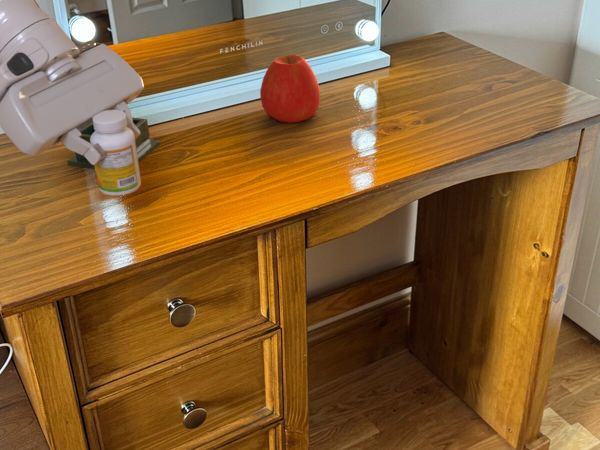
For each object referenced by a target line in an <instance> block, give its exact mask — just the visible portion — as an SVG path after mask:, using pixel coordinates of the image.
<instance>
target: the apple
mask: <svg viewBox="0 0 600 450" xmlns="http://www.w3.org/2000/svg"><path fill="white" fill-rule="evenodd" d="M319 85H320V84H319V81H318V78H317V76H316V74H315V72H314V71H313V69H312V66H310V64H309V62H308V61H307V59H306V58H303V57H301V56H299V55H296V54H290V55H285V56H280V57H277V58H276V59H274V60H273V61H272V62H271V63H270V65H269V66H268V67H267V69H266V71H265V73H264V76H263V78H262V81H261V86H260V90H259V94H260V95H259V96H260V97H259V98H260V102H261V106H262V108H263V110H264V112H265V113H266V114H267V115H268V116H270V117H271V118H273V119H274V120H276V121H278V122H281V123H287V124H291V123H298V122H299V123H300V122H303V121H306V120H308V119H310V118H312V117H313V116H314V115H315V114H316V112H317V110H318V109H319V107H320V104H321V90H320V86H319Z"/></svg>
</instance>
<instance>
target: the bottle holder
mask: <svg viewBox="0 0 600 450" xmlns="http://www.w3.org/2000/svg"><path fill="white" fill-rule="evenodd" d="M132 119H133V123H134V124H135V125H136V127H137V128H138V129H139V130H140V135H139V136H138V137H137V138H136V139H135V142H136V149H137V156H138V163H139V164H140V163H141V162H142V161H143V160H144V159H146V157H148V156H149V155H150V154H151V153H152V152H153V151H155V150H156V148H158V147H159V146H160V140H159V139H151V137H150V130H149V123H148V119H147V118H140V117H132ZM79 132H80V133H81V134H82V135H81V136H80V138H82V139H83V140H85V141H87V142H89V143H90V137H91V135H92V134H93V133H94V132H95V130H94V125H93V123H92V124H91V125H89V126H87V127H85V128H84V129H82V130H80V131H79ZM90 144H91V143H90ZM74 153H75V154H74V155H73V156H71V157H70V158H69V159H67V160H66V162H67V165H68V166H71V167H79V168H85V169H86V168H88V169H94V170H95V167H94V165H92V164H91V163H90V162H89V161H88V160H87V159H86V157H85V156H84V155H81V154H78V153H76V152H74Z"/></svg>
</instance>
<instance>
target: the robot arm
mask: <svg viewBox="0 0 600 450" xmlns="http://www.w3.org/2000/svg"><path fill="white" fill-rule="evenodd" d="M144 85H145V84H144V81H143V78H142V77H141V75H140V74H139V73H138V72H137V71H136V70H135V69H134V68H133V67H132V66H131V65H130V64H129V63H128V62H127V61H126V60H125V59H123V57H121V56H120V55H119V54H118V53H117V52H115V51H114V50H113V49H112V48H109V46H108V45H106V44H105V43H100V42H97V41H94V40H88V41H86V42H84V43H83V44H81V45H76V44H75V42H74V41H73V40H72V38H71V37H70V36H69V35H68V34H67V33H66V32H65V31H64V30H63V28H62V27H61V26H60V25H59V24H58V22H57V21H56V20H55V19H54V18H53V17H52V16H51V15H50V14H48V13H46V11H44V10H42V9H41V7H40V5H39V4H38V3H37V1H36V0H0V128H1V130H2V131H3V132H4V133H5V135H6V136H7V137H8V139H9V140H10V141H11V142H12V143H13V144H14V146H15V147H16V148H17V149H18V150H19V151H20V152H21V153H22V154H26V155H28V156H31V157H36V156H37V155H40V154H41V153H43V152H45V151H46V150H48V149H50V148H52V147H54V146H55V145H57V144H59V143H62V144H63V146H64V147H65V148H66V149H67V150H70V151H72V152H74V153H75V152H76V153H78V154H81V155H84V156H85V157H86V159H87V160H88V161H89V162H90V163H91V164H92V165H95V164H97V163H98V162H100V161H101V160H103V158H104V157H105V156H106V152H105V151H104V150H103V149H102V148H101V146H100V145H99V144H98V143H97V144H95V145H92V144H90V143H89V142H87V141H85V140H83V139H82V138H80V136H81V135H82V134H81V133H80V132H79V131H80V130H82V129H84V128H85V127H87V126H89V125H91V124H92V123H93V116H95V115H97V114H99V113H100V112H102V111H106V110H119V111H123V112H124V113H125V114H126V119H127V127H128V128H129V129H131V130H132V131H133V133H134V136H135V139H136V138H137V137H138V136H139V135H140V130H139V129H138V128H137V127H136V125H135V124H134V123H133V119H132V118H133V116H132V111H131V108H130V106H129V105H128V104H130V103H131V102H133V101H134V100H135V99H136V98H137V97H138V96H139V95H140V94H141V93H142V91H143V90H144V88H145V86H144Z"/></svg>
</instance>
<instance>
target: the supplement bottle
mask: <svg viewBox="0 0 600 450" xmlns="http://www.w3.org/2000/svg"><path fill="white" fill-rule="evenodd" d="M93 125H94V130H95V132H94V133H93V134H92V135H91V137H90V143H91V144H92V145H95V144H97V143H98V144H99V145H100V146H101V148H102V149H103V150H104V151H105V152H106V156H105V157H104V158H103V160H101V161H100V162H98V163H97V164H95V165H94V167H95V169H94V172H95V177H96V184H97V187H98V190H99V191H100V192H101V193H102V194H104V195H106V196H112V197H114V196H116V197H117V196H124V195H129V194H131V193H134V192H136V191H137V190H138V189H139V188H140V187H141V185H142V177H141V170H140V162H139V163H138V156H137V149H136V142H135V136H134V133H133V131H132V130H131V129H129V128H128V127H127V119H126V114H125V113H124V112H123V111H119V110H106V111H102V112H100V113H99V114H97V115H95V116H93Z"/></svg>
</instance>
